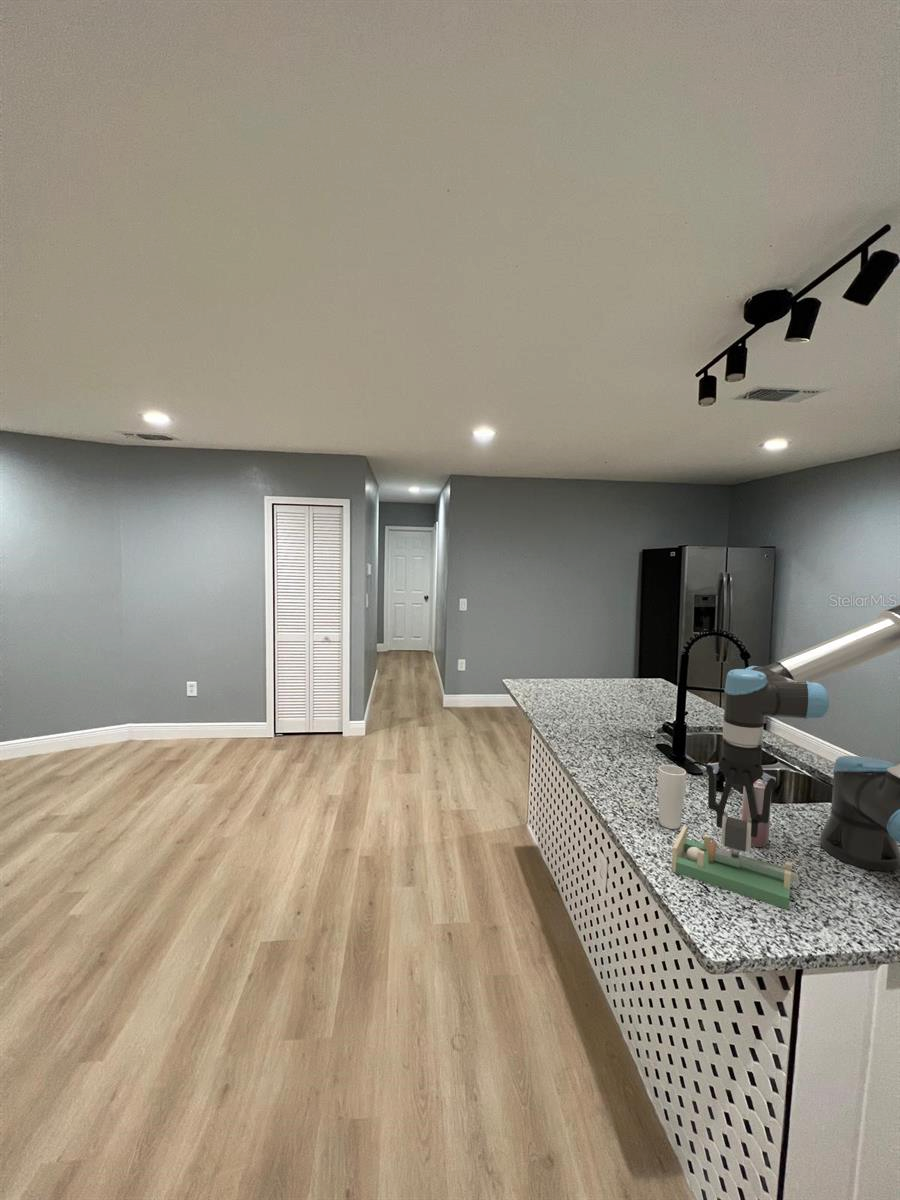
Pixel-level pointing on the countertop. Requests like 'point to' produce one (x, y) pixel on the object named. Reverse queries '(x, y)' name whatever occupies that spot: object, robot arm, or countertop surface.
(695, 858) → the ball
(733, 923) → the countertop surface
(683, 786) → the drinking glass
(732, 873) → the board
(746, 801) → the beverage can
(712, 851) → the grey slider
